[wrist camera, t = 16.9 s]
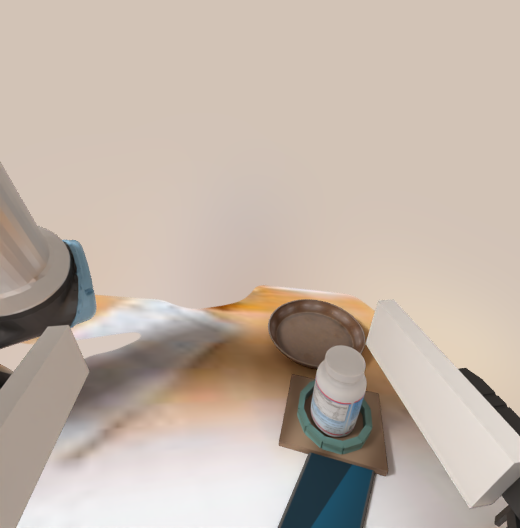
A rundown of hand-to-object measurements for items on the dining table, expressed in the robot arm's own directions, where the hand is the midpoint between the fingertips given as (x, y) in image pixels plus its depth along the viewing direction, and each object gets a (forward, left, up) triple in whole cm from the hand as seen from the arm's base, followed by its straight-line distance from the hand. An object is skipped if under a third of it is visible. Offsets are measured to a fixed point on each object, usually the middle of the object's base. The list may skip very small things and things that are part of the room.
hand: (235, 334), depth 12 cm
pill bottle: (+7, +16, -28) cm, 33 cm away
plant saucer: (+4, +31, -30) cm, 43 cm away
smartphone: (+8, +6, -30) cm, 31 cm away
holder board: (+8, +16, -29) cm, 34 cm away
